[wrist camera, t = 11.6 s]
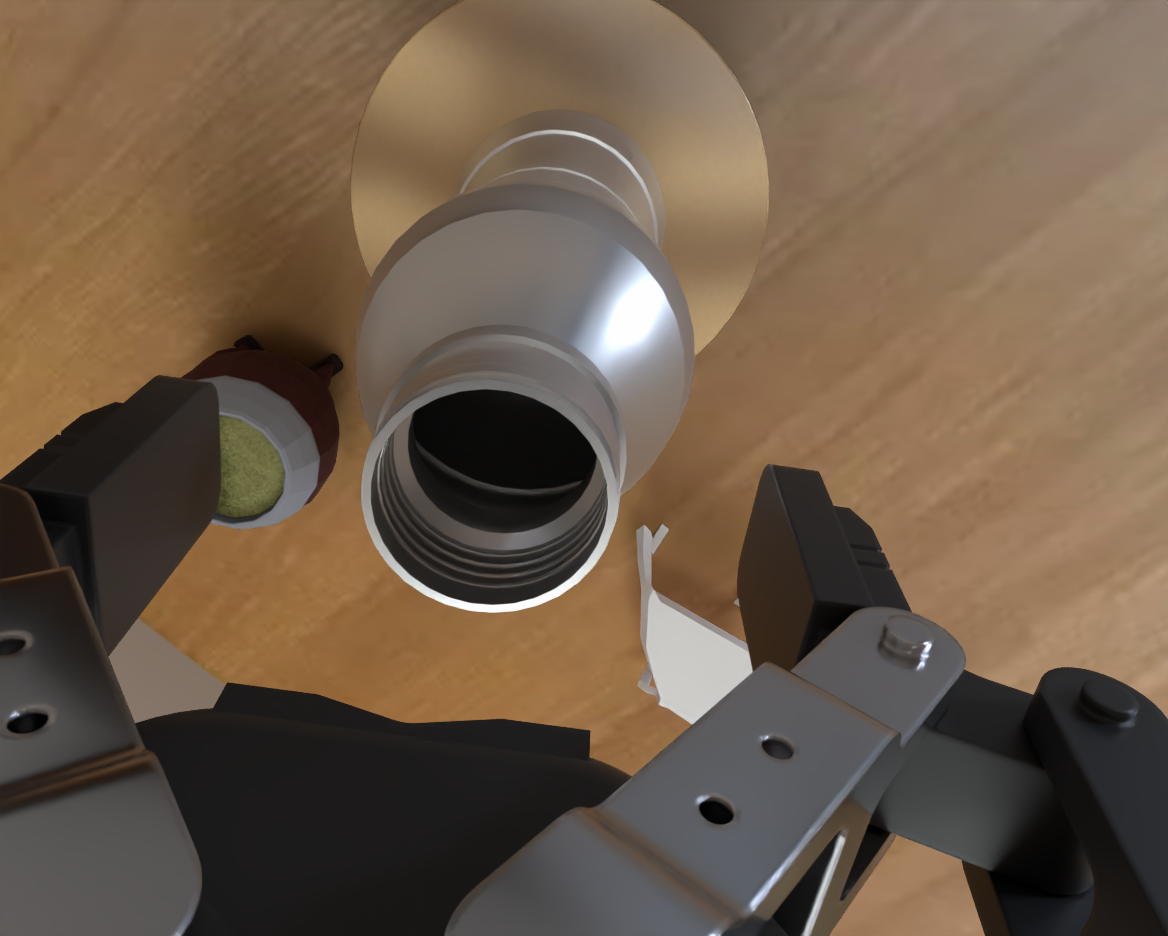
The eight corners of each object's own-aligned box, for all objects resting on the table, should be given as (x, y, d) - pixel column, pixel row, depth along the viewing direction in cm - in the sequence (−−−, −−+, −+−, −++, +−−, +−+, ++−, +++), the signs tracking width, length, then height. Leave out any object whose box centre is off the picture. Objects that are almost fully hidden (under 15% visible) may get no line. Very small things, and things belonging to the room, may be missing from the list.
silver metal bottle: (434, 265, 32) (204, 612, 14) (505, 62, 29) (329, 175, 11) (611, 337, 33) (606, 750, 15) (697, 149, 30) (817, 380, 12)
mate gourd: (393, 416, 44) (297, 599, 31) (264, 493, 46) (121, 697, 33) (290, 281, 42) (136, 418, 28) (158, 370, 44) (-46, 537, 30)
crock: (415, -48, 36) (358, -59, 28) (771, 10, 36) (816, 15, 28) (395, 301, 42) (343, 375, 34) (701, 346, 42) (721, 429, 34)
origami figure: (828, 630, 49) (849, 694, 45) (698, 710, 52) (706, 778, 47) (685, 469, 45) (693, 521, 41) (552, 564, 48) (545, 622, 43)
